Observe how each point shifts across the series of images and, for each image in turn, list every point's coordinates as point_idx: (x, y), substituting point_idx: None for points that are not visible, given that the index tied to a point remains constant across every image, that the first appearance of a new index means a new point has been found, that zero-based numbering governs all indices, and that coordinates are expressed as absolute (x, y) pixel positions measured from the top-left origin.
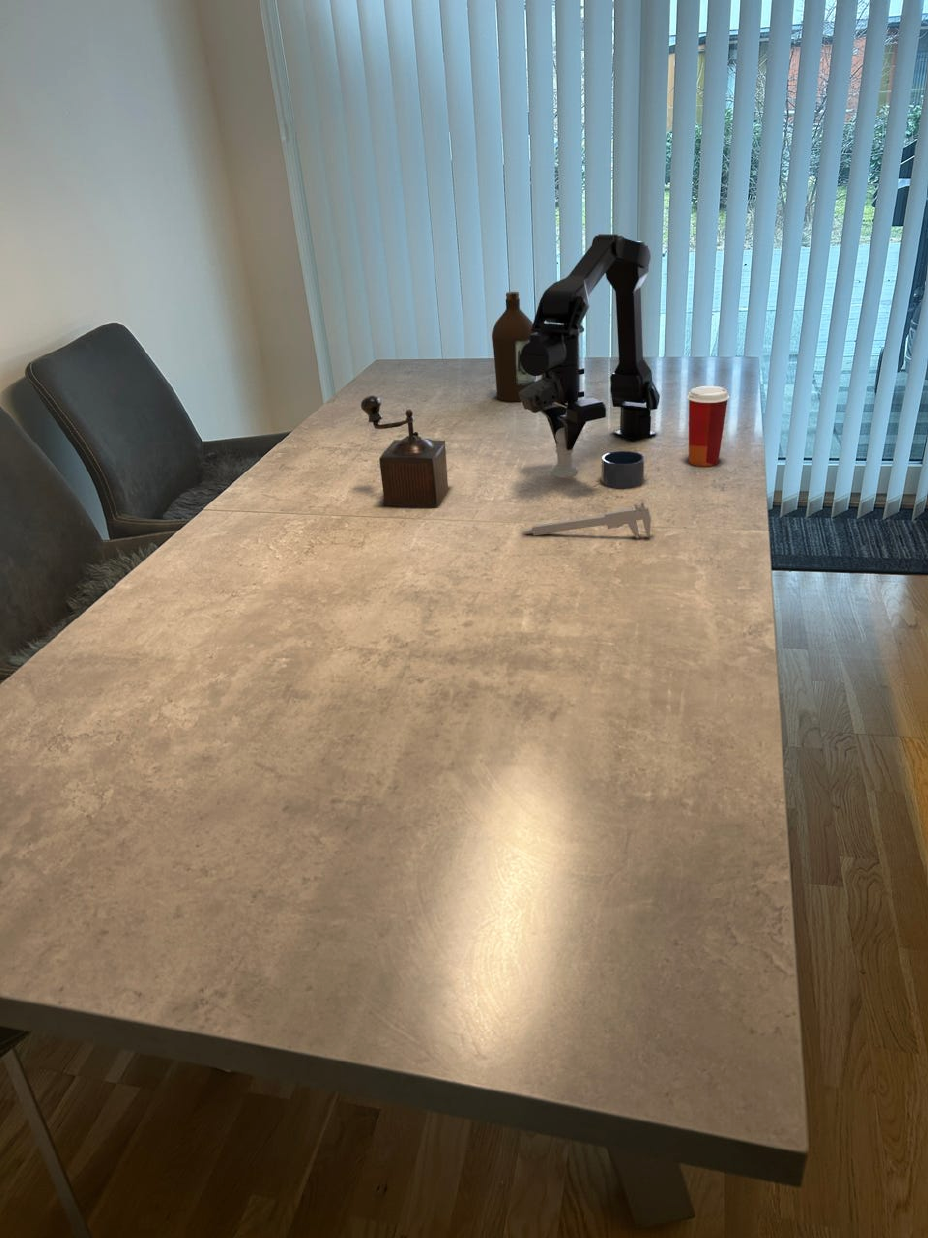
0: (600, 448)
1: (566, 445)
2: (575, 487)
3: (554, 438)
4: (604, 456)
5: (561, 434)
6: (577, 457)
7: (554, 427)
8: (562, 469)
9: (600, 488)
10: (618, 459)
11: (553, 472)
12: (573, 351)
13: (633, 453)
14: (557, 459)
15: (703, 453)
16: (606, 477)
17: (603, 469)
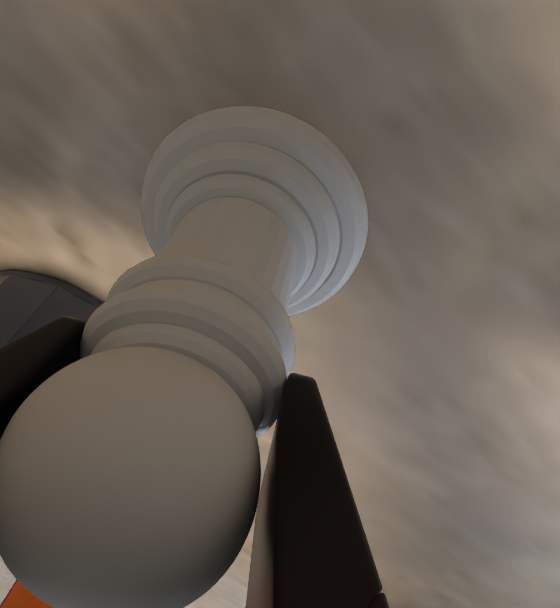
0: (455, 576)
1: (45, 344)
2: (114, 143)
3: (317, 431)
4: None
5: (26, 457)
6: (479, 483)
7: (271, 597)
8: (193, 183)
9: (16, 225)
10: None
11: (262, 124)
12: None
13: None
14: (258, 239)
15: (9, 600)
16: (7, 303)
17: (12, 338)
